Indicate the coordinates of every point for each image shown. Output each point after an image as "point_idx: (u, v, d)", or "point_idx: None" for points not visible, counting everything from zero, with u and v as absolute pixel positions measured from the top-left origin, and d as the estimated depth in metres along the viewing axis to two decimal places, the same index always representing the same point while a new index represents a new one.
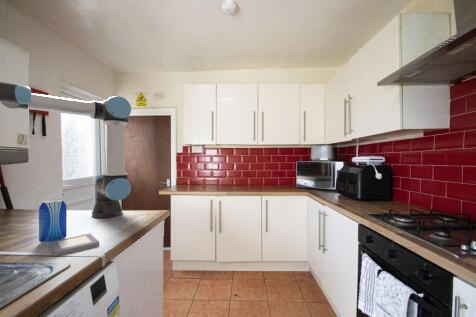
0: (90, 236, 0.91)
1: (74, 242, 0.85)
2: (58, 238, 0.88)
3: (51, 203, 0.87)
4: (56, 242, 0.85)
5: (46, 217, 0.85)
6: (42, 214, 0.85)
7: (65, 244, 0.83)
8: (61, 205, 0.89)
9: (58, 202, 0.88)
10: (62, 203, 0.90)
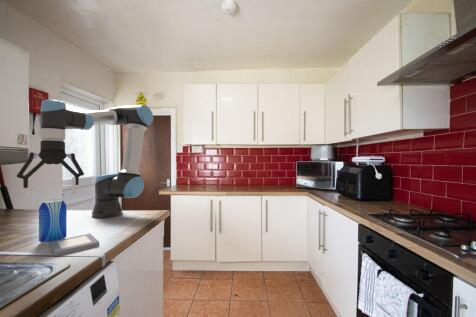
0: (90, 236, 0.91)
1: (74, 242, 0.85)
2: (58, 238, 0.88)
3: (51, 203, 0.87)
4: (56, 242, 0.85)
5: (46, 217, 0.85)
6: (42, 214, 0.85)
7: (65, 244, 0.83)
8: (61, 205, 0.89)
9: (58, 202, 0.88)
10: (62, 203, 0.90)
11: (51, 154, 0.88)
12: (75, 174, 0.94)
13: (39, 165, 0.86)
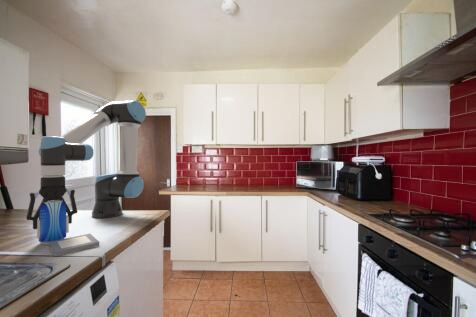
0: (90, 236, 0.91)
1: (74, 242, 0.85)
2: (58, 238, 0.88)
3: (51, 203, 0.87)
4: (56, 242, 0.85)
5: (46, 217, 0.85)
6: (42, 214, 0.85)
7: (65, 244, 0.83)
8: (61, 205, 0.89)
9: (58, 202, 0.88)
10: (62, 203, 0.90)
11: (51, 189, 0.88)
12: (69, 212, 0.92)
13: None
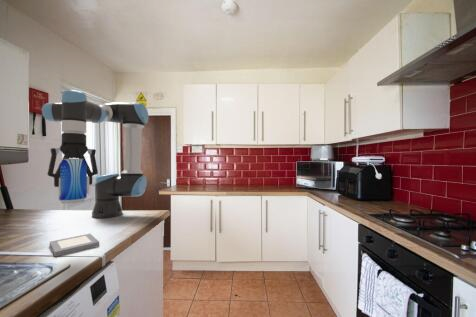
0: (90, 236, 0.91)
1: (74, 242, 0.85)
2: (79, 197, 0.83)
3: (72, 160, 0.82)
4: (56, 242, 0.85)
5: (67, 174, 0.81)
6: (63, 171, 0.81)
7: (65, 244, 0.83)
8: (82, 163, 0.84)
9: (79, 160, 0.84)
10: (82, 161, 0.85)
11: (72, 145, 0.84)
12: (89, 173, 0.88)
13: None
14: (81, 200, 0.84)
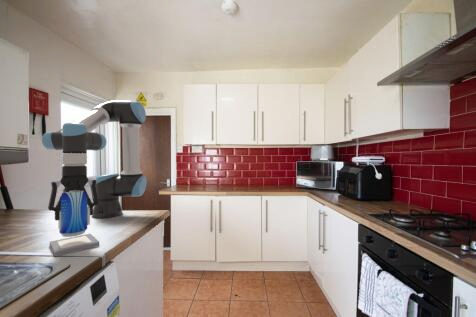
0: (90, 236, 0.91)
1: (74, 242, 0.85)
2: (79, 230, 0.83)
3: (72, 193, 0.82)
4: (56, 242, 0.85)
5: (68, 207, 0.81)
6: (63, 205, 0.81)
7: (65, 244, 0.83)
8: (82, 195, 0.85)
9: (79, 192, 0.84)
10: (83, 193, 0.85)
11: (72, 178, 0.84)
12: (90, 203, 0.88)
13: None
14: (82, 232, 0.85)
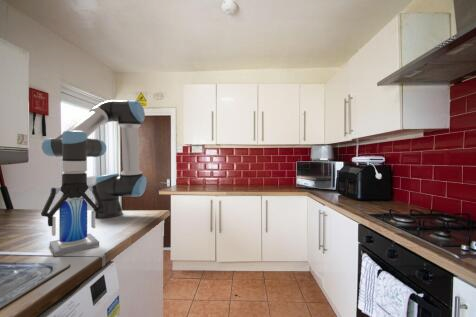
0: (90, 236, 0.91)
1: None
2: (79, 238, 0.83)
3: (72, 201, 0.82)
4: (56, 242, 0.85)
5: (68, 216, 0.81)
6: (63, 213, 0.81)
7: None
8: (82, 203, 0.85)
9: (79, 200, 0.84)
10: (83, 201, 0.85)
11: (73, 187, 0.84)
12: (95, 207, 0.89)
13: (62, 200, 0.82)
14: (82, 240, 0.85)
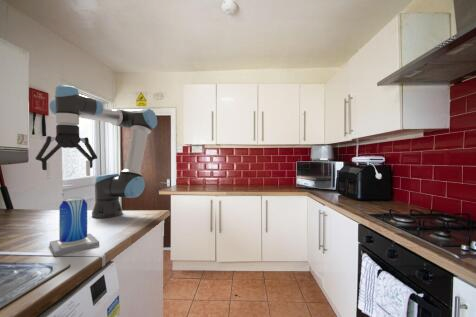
0: (90, 236, 0.91)
1: None
2: (79, 238, 0.83)
3: (72, 201, 0.82)
4: (56, 242, 0.85)
5: (68, 216, 0.81)
6: (63, 213, 0.81)
7: None
8: (82, 203, 0.85)
9: (79, 200, 0.84)
10: (83, 201, 0.86)
11: (67, 138, 0.92)
12: (89, 157, 0.98)
13: (56, 148, 0.90)
14: (82, 240, 0.85)
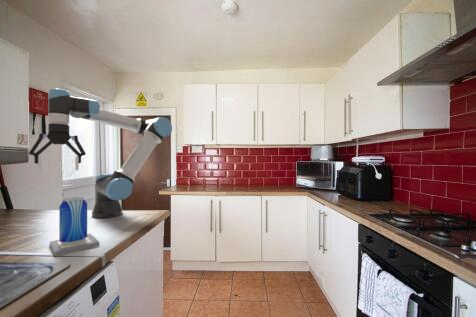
0: (90, 236, 0.91)
1: None
2: (79, 238, 0.83)
3: (72, 201, 0.82)
4: (56, 242, 0.85)
5: (68, 216, 0.81)
6: (63, 213, 0.81)
7: None
8: (82, 203, 0.85)
9: (79, 200, 0.84)
10: (83, 201, 0.86)
11: (57, 135, 1.03)
12: (78, 153, 1.08)
13: (47, 144, 1.00)
14: (82, 240, 0.85)
